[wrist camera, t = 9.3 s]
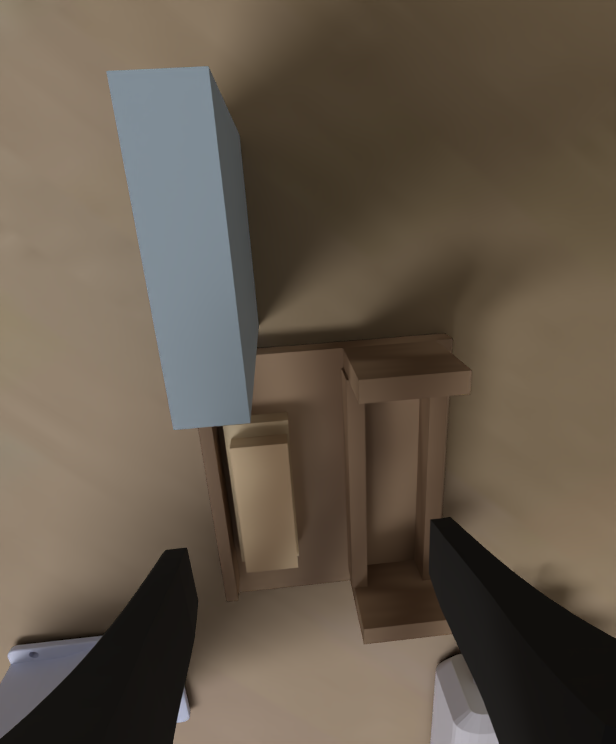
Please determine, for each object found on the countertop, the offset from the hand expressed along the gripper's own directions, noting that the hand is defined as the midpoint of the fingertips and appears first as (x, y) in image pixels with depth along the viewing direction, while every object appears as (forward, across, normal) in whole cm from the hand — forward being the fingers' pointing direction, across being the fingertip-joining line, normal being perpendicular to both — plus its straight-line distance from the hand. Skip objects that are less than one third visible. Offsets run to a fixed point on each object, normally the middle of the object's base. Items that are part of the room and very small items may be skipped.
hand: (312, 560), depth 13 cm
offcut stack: (+9, +2, +4) cm, 10 cm away
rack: (+10, -2, +4) cm, 11 cm away
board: (+10, +2, -9) cm, 14 cm away
